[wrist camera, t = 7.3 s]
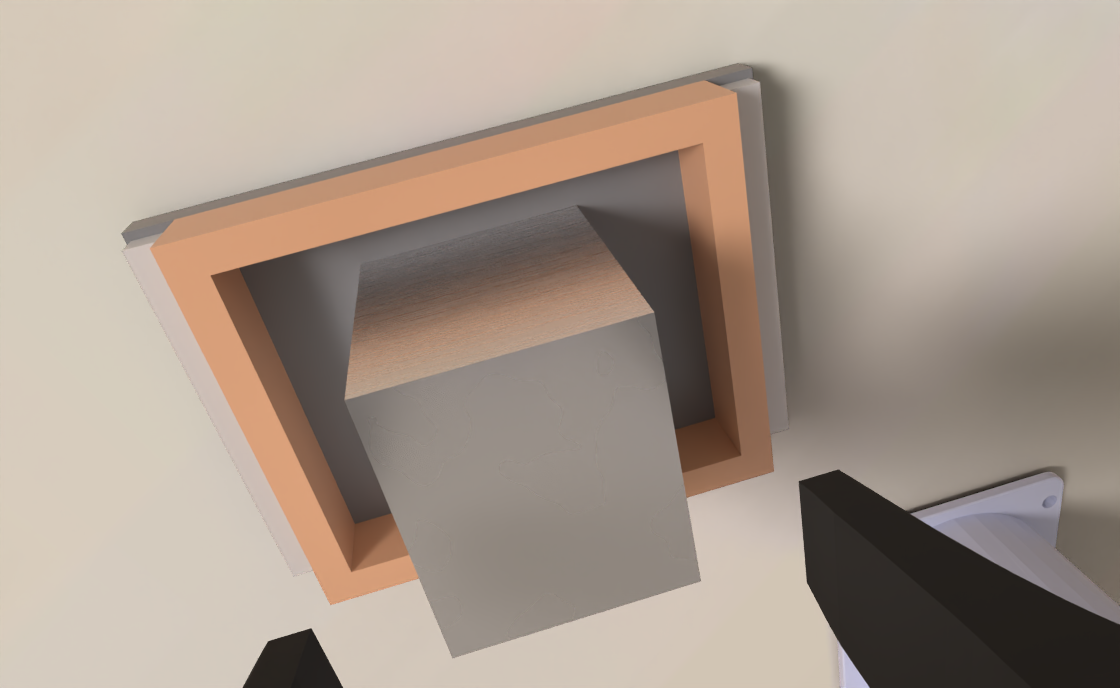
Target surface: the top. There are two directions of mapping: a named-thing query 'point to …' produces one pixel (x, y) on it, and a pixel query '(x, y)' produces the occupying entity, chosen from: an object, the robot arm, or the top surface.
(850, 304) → the top surface
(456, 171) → the frame
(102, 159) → the top surface
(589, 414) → the brushed metal cube
